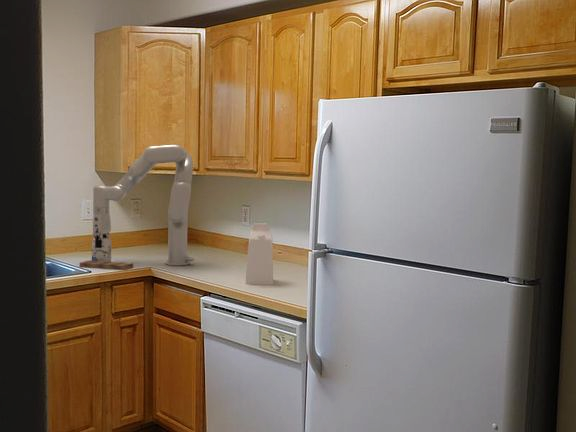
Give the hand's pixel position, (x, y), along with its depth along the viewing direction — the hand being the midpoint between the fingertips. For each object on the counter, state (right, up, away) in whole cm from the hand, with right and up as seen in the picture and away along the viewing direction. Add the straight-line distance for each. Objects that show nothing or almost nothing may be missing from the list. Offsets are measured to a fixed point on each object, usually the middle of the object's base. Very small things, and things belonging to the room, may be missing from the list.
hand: (101, 246), depth 301 cm
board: (+5, -10, -8) cm, 13 cm away
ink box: (0, -8, +1) cm, 8 cm away
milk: (+80, -14, -33) cm, 88 cm away
